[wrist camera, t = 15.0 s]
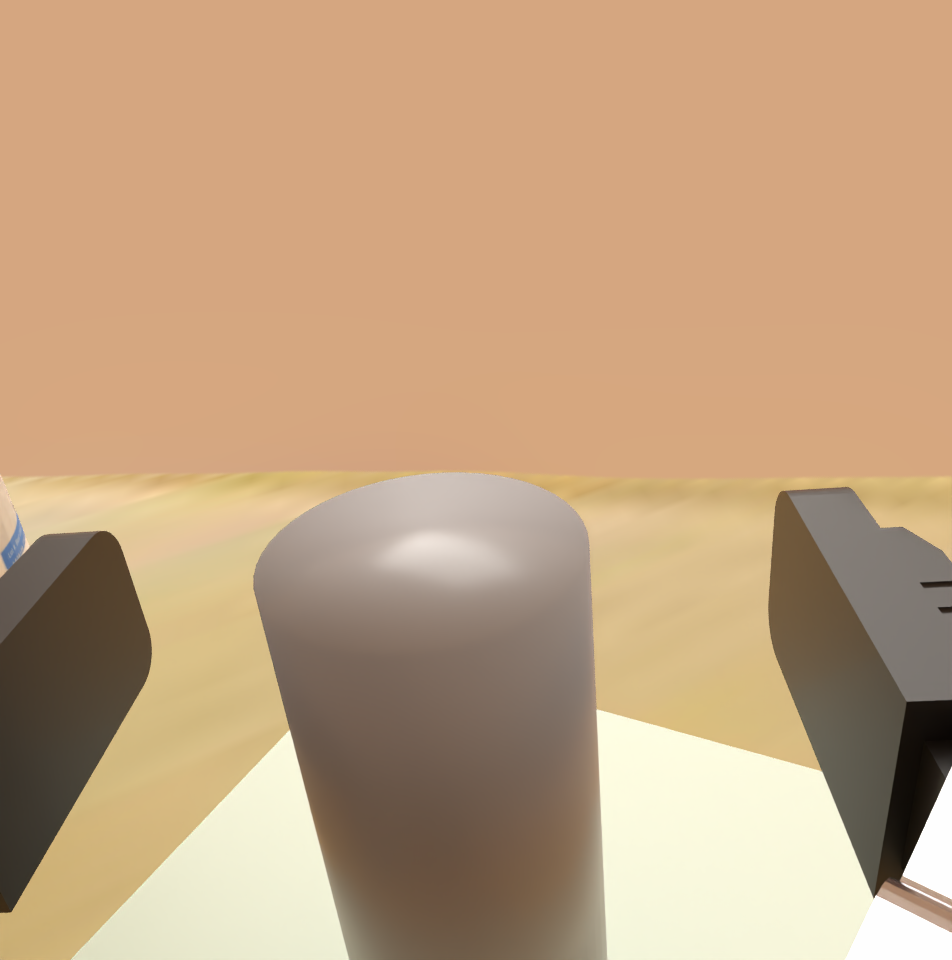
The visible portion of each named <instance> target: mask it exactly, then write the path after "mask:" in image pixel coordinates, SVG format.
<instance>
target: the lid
mask: <svg viewBox="0 0 952 960" xmlns="http://www.w3.org/2000/svg"><path fill="white" fill-rule="evenodd" d="M254 592H255V596H256V600H257V604H258V608H259V612H260V616H261V620H262V623H263V627H264V631H265V635H266V639H267V643H268V647H269V651H270V654H271V658H272V662H273V666H274V670H275V674H276V678H277V682H278V686H279V689H280V693H281V697H282V701H283V705H284V709H285V713H286V717H287V720H288V724H289V728H290V730H289V731H288V732H287V733H286V734H285V735H284V736H283V737H282V739H281V740H280V741H279V742H278V743H277V744H276V745H275V746H274V747H273V748H272V749H271V750H270V751H269V752H268V753H267V754H266V755H265V756H264V757H263V758H262V759H261V761H260V762H259V763H258V764H257V765H256V766H255V767H254V768H253V769H252V770H251V771H250V772H249V773H248V774H247V775H246V776H245V777H244V778H243V779H242V780H241V781H240V783H239V784H238V785H237V786H236V787H235V788H234V789H233V790H232V791H231V792H230V793H229V794H228V795H227V796H226V797H225V798H224V799H223V800H222V801H221V802H220V803H219V805H218V806H217V807H216V808H215V809H214V810H213V811H212V812H211V813H210V814H209V815H208V816H207V817H206V818H205V819H204V820H203V821H202V822H201V823H200V824H199V825H198V827H197V828H196V829H195V830H194V831H193V832H192V833H191V834H190V835H189V836H188V837H187V838H186V839H185V840H184V841H183V842H182V843H181V844H180V845H179V846H178V847H177V849H176V850H175V851H174V852H173V853H172V854H171V855H170V856H169V857H168V858H167V859H166V860H165V861H164V862H163V863H162V864H161V865H160V866H159V867H158V868H157V869H156V871H155V872H154V873H153V874H152V875H151V876H150V877H149V878H148V879H147V880H146V881H145V882H144V883H143V884H142V885H141V886H140V887H139V888H138V889H137V890H136V891H135V893H134V894H133V895H132V896H131V897H130V898H129V899H128V900H127V901H126V902H125V903H124V904H123V905H122V906H121V907H120V908H119V909H118V910H117V911H116V912H115V914H114V915H113V916H112V917H111V918H110V919H109V920H108V921H107V922H106V923H105V924H104V925H103V926H102V927H101V928H100V929H99V930H98V931H97V932H96V933H95V934H94V936H93V937H92V938H91V939H90V940H89V941H88V942H87V943H86V944H85V945H84V946H83V947H82V948H81V949H80V950H79V951H78V952H77V953H76V954H75V955H74V956H73V958H72V959H71V960H846V958H847V956H848V954H849V952H850V950H851V947H852V945H853V943H854V941H855V939H856V937H857V935H858V933H859V931H860V928H861V926H862V924H863V922H864V920H865V918H866V916H867V914H868V911H869V909H870V907H871V905H872V903H873V901H874V898H873V896H872V894H871V891H870V889H869V886H868V884H867V881H866V879H865V876H864V874H863V871H862V869H861V866H860V864H859V861H858V859H857V856H856V854H855V851H854V849H853V846H852V844H851V841H850V839H849V836H848V834H847V832H846V829H845V827H844V824H843V822H842V819H841V817H840V814H839V812H838V809H837V807H836V804H835V802H834V799H833V797H832V794H831V792H830V789H829V787H828V784H827V782H826V779H825V777H824V775H823V772H822V771H818V770H815V769H811V768H807V767H804V766H800V765H797V764H793V763H789V762H786V761H782V760H778V759H775V758H771V757H768V756H764V755H760V754H757V753H753V752H749V751H746V750H742V749H739V748H735V747H731V746H728V745H724V744H720V743H717V742H713V741H710V740H706V739H702V738H699V737H695V736H692V735H688V734H684V733H681V732H677V731H673V730H670V729H666V728H663V727H659V726H655V725H652V724H648V723H644V722H641V721H637V720H634V719H630V718H626V717H623V716H619V715H615V714H612V713H608V712H605V711H601V710H597V709H596V687H595V664H594V642H593V619H592V596H591V573H590V550H589V539H588V533H587V530H586V527H585V525H584V523H583V521H582V519H581V518H580V516H579V515H578V514H577V512H576V511H575V510H574V509H573V508H572V507H571V506H570V505H569V504H568V503H567V502H565V501H564V500H562V499H561V498H559V497H558V496H556V495H555V494H553V493H551V492H549V491H547V490H545V489H543V488H541V487H538V486H535V485H533V484H530V483H527V482H524V481H520V480H516V479H513V478H508V477H502V476H497V475H489V474H480V473H462V472H459V473H432V474H421V475H414V476H406V477H401V478H396V479H390V480H386V481H382V482H378V483H374V484H370V485H367V486H364V487H360V488H357V489H354V490H351V491H349V492H346V493H343V494H341V495H338V496H336V497H334V498H331V499H329V500H327V501H325V502H323V503H321V504H319V505H317V506H315V507H314V508H312V509H310V510H308V511H307V512H305V513H303V514H302V515H300V516H299V517H297V518H296V519H295V520H293V521H292V522H290V523H289V524H288V525H287V526H286V527H285V528H283V529H282V530H281V531H280V532H279V533H278V534H277V535H276V536H275V537H274V538H273V539H272V540H271V541H270V542H269V544H268V545H267V547H266V548H265V550H264V551H263V552H262V554H261V556H260V558H259V560H258V563H257V565H256V569H255V573H254Z"/></svg>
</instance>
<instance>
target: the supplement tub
mask: <svg viewBox="0 0 952 960" xmlns="http://www.w3.org/2000/svg"><path fill="white" fill-rule="evenodd" d="M29 547H30V546H29V544H28V541H27V539H26V536H25V534H24V531H23V528H22V526H21V523H20V520H19V518H18V515H17V513H16V511H15V508H14V506H13V504H12V501H11V499H10V496H9V494H8V491H7V488H6V486H5V483H4V481H3V479H2V477H1V474H0V578H1V577H2V576H3V575H4V573H5V572H6V571H7V570H8V569H9V568H10V567H11V566H12V565H13V564H14V563H15V562H16V561H17V560H18V559H19V558H20V557H21V556H22V555H23V554H24V553H25V552H26V551H27V550H28V549H29Z"/></svg>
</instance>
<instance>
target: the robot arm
mask: <svg viewBox="0 0 952 960" xmlns="http://www.w3.org/2000/svg"><path fill="white" fill-rule="evenodd" d="M768 610H769V626H770V633H771V639H772V644H773V648H774V652H775V655H776V658H777V660H778V663H779V665H780V668H781V670H782V673H783V675H784V678H785V680H786V683H787V685H788V688H789V690H790V693H791V695H792V698H793V700H794V703H795V705H796V708H797V710H798V713H799V715H800V717H801V720H802V722H803V725H804V727H805V730H806V732H807V735H808V737H809V740H810V742H811V745H812V747H813V750H814V752H815V755H816V757H817V760H818V762H819V765H820V767H821V770H822V772H823V775H824V777H825V779H826V782H827V784H828V787H829V789H830V792H831V794H832V797H833V799H834V802H835V804H836V807H837V809H838V812H839V814H840V817H841V819H842V822H843V824H844V827H845V829H846V832H847V834H848V836H849V839H850V841H851V844H852V846H853V849H854V851H855V854H856V856H857V859H858V861H859V864H860V866H861V869H862V871H863V874H864V876H865V879H866V881H867V884H868V886H869V889H870V891H871V894H872V896H873V898H874V901H873V903H872V905H871V907H870V909H869V911H868V914H867V916H866V918H865V920H864V922H863V924H862V926H861V928H860V931H859V933H858V935H857V937H856V939H855V941H854V943H853V945H852V947H851V950H850V952H849V954H848V956H847V958H846V960H952V562H951V561H950V560H949V559H948V557H947V556H946V555H945V554H944V553H943V551H942V550H940V549H938V548H937V547H935V546H933V545H932V544H930V543H928V542H927V541H925V540H923V539H922V538H920V537H918V536H917V535H915V534H913V533H912V532H910V531H909V530H907V529H905V528H904V527H892V528H880V527H879V525H878V524H877V523H876V521H875V520H874V518H873V517H872V516H871V514H870V513H869V511H868V510H867V509H866V507H865V506H864V504H863V503H862V502H861V500H860V499H859V498H858V496H857V495H856V493H855V492H854V491H853V490H852V489H851V488H849V487H841V488H824V489H808V490H791V491H782V492H780V494H779V495H778V498H777V501H776V506H775V516H774V530H773V545H772V559H771V574H770V588H769V605H768ZM151 655H152V647H151V638H150V633H149V630H148V627H147V624H146V621H145V618H144V615H143V612H142V609H141V606H140V603H139V600H138V597H137V594H136V591H135V588H134V585H133V582H132V579H131V576H130V573H129V570H128V567H127V564H126V561H125V558H124V555H123V552H122V549H121V546H120V544H119V542H118V541H117V539H116V538H115V537H114V536H113V535H112V534H111V533H109V532H107V531H94V532H78V533H62V534H47V535H43V536H41V537H40V538H39V539H37V540H36V541H35V542H34V543H33V544H32V545H31V546H30V547H29V549H28V550H27V551H26V552H25V553H24V554H23V555H22V556H21V557H20V558H19V559H18V560H17V561H16V562H15V563H14V564H13V565H12V566H11V567H10V568H9V569H8V570H7V571H6V572H5V573H4V575H3V576H2V577H1V578H0V913H8V912H12V910H13V908H14V907H15V905H16V903H17V901H18V900H19V898H20V896H21V895H22V893H23V891H24V889H25V888H26V886H27V884H28V883H29V881H30V879H31V877H32V876H33V874H34V872H35V871H36V869H37V867H38V866H39V864H40V862H41V860H42V859H43V857H44V855H45V854H46V852H47V850H48V848H49V847H50V845H51V843H52V842H53V840H54V838H55V836H56V835H57V833H58V831H59V830H60V828H61V826H62V824H63V823H64V821H65V819H66V818H67V816H68V814H69V812H70V811H71V809H72V807H73V806H74V804H75V802H76V800H77V799H78V797H79V795H80V794H81V792H82V790H83V788H84V787H85V785H86V783H87V782H88V780H89V778H90V776H91V775H92V773H93V771H94V770H95V768H96V766H97V764H98V763H99V761H100V759H101V758H102V756H103V754H104V752H105V751H106V749H107V747H108V746H109V744H110V742H111V740H112V739H113V737H114V735H115V734H116V732H117V730H118V728H119V727H120V725H121V723H122V722H123V720H124V718H125V716H126V715H127V713H128V711H129V710H130V708H131V706H132V704H133V703H134V701H135V699H136V698H137V696H138V694H139V692H140V691H141V689H142V687H143V686H144V684H145V682H146V679H147V677H148V674H149V670H150V665H151Z"/></svg>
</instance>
